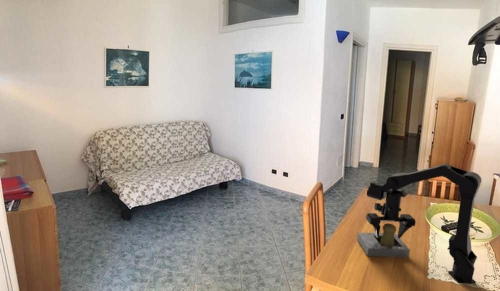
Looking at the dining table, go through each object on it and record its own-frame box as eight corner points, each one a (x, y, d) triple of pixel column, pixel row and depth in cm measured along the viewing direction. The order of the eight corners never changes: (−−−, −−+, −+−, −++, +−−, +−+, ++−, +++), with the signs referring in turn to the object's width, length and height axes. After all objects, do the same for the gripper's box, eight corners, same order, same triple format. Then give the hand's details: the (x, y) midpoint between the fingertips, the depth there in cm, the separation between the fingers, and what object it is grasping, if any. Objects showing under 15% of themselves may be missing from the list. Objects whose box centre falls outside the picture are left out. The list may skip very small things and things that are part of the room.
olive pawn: (381, 243, 139) (384, 220, 136) (395, 248, 135) (399, 224, 133) (376, 248, 134) (380, 225, 132) (391, 253, 131) (395, 229, 128)
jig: (408, 257, 128) (409, 249, 128) (367, 256, 128) (368, 248, 128) (394, 240, 141) (395, 233, 140) (356, 239, 141) (357, 232, 140)
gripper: (405, 196, 138) (400, 229, 141) (363, 195, 138) (359, 227, 141) (419, 207, 127) (413, 242, 131) (373, 206, 127) (368, 240, 131)
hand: (387, 237), depth 134 cm, fingers open, 9 cm apart
